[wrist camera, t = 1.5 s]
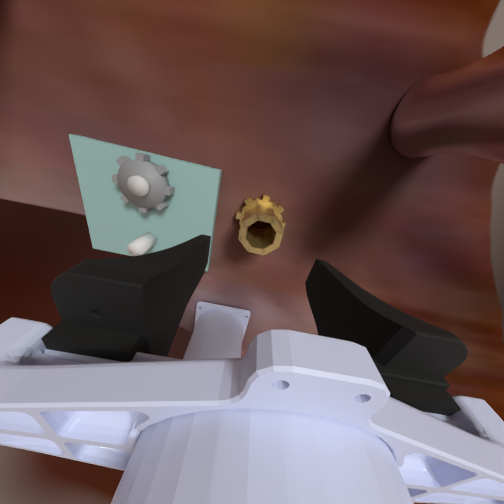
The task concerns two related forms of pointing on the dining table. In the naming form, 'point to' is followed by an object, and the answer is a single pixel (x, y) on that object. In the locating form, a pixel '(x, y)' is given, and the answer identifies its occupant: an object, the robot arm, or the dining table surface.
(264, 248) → the planet gear
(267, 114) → the dining table surface
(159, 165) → the carrier plate
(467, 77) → the beer glass
